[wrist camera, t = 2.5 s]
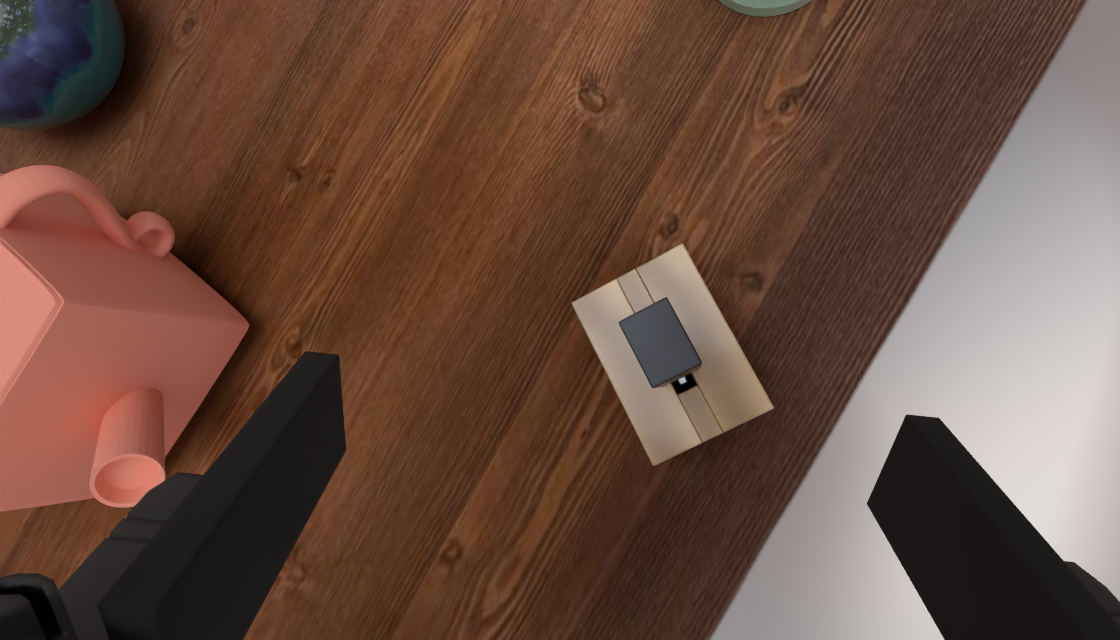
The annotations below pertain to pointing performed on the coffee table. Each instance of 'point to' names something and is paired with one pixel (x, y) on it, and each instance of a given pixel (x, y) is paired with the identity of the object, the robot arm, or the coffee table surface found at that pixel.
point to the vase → (57, 60)
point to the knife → (660, 344)
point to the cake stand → (764, 6)
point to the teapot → (96, 343)
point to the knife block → (725, 371)
